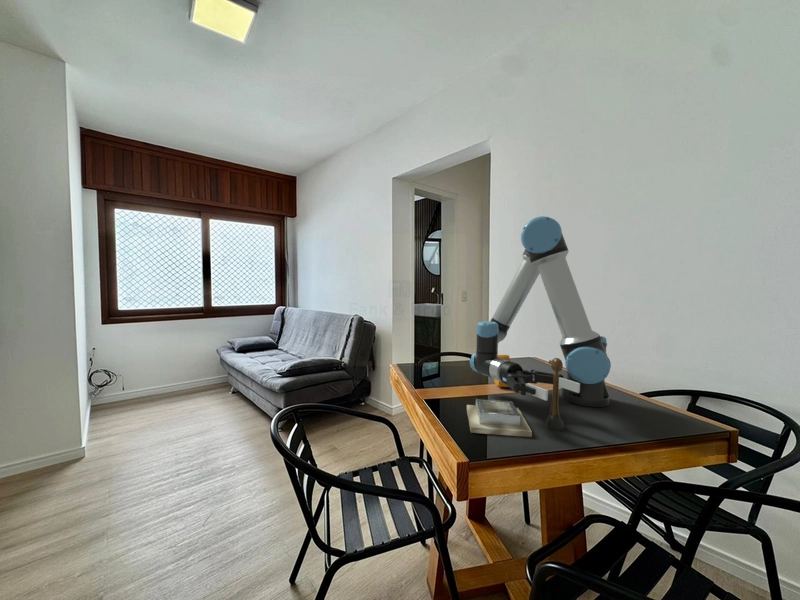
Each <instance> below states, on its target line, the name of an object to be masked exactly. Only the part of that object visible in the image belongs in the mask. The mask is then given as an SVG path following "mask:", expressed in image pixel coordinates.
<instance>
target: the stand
mask: <svg viewBox="0 0 800 600" xmlns="http://www.w3.org/2000/svg"><path fill="white" fill-rule="evenodd" d="M515 408H516V409H517V411H518V413H519V415H520V427H517V426H503V425H489V424H479V420H478V416H477V412H476V404H466V413H467V414H466V415H467V418H468V425H469V430H470V433H471V434H472V433H473V434H484V435H496V436H497V435H501V436H510V437H511V436H514V437H523V438H524V437H525V438H532V437H533V431H532V430H531V427H530V425H529V423H528V422H527V420H526V419H525V417H524V415H523V414H522V412H521V410H520V409H519V407H515ZM483 411H484V410H483ZM484 412H492V413H507V414H509V412H500V411H484Z"/></svg>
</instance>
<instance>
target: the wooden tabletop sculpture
mask: <svg viewBox="0 0 800 600" xmlns="http://www.w3.org/2000/svg"><path fill="white" fill-rule="evenodd" d="M549 364H550V366H551V369H552V370H553V372H554V373H553V374H554V376H553V384H552V397H551V405H550V411H549V413H548V416H547V418H546V419H545V423H544V426H545V427H546V428H547V429H549V430H552V431H559V432H560V431H563V430H564V421H563V419H562V418H561V415H560V408H559V388H560V387H559V376H560V375H559V373H561V371H562V370H563V367H564V365H563V362H562V360H561V359H560V358H559V357H554V358H552V360H551V359H550V360H549V361H548V365H549Z"/></svg>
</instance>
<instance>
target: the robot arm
mask: <svg viewBox="0 0 800 600" xmlns="http://www.w3.org/2000/svg"><path fill="white" fill-rule="evenodd" d="M561 227H562V226H561V225H560V224H559V222H558V221H557V220H555V218H551V217H549V216H537V217H534V218H532V219H530V220H529V221H528V222H526V224H524V226H523V227H522V231H521V235H520V241H521V245H522V246H523V248H524V251H523V252H522V255H521V256H522V258H523V259H522V261H521V263H520V265H519V266H518V268H517V271H516V272H515V274H514V276H513V278H512V280H511V282H510V284H509V285H508V288H507V290H506V291H505V293H504V295H503V297H502V299H500V303H499V304H498V306H497V308H496V310H495V312H494V314H493V316H492V318H491V319H490V321H489V320H487V321H486V320H485V321H483V320H482V321H478V322H477V325H476V331H475V332H476V350H475V352H473V354H472V355H471V357H470V359H469V366H470V368H471V369H472V371H474V372H476V373H478V374H479V375H483V376H484V377H485V376H486V377H489V378H491V379H493V380H494V379H496V380H498V381H499V382H503V383H505V384H507V385H508V386H509V387H508V388H509V389H511V391H513V392H514V393H516V394H518V393H519V394H520V396H521V395H522V396H525V395H526V394H527V395H530V396H533V397H536V398H538V399H540V400H543V401H548V398H549V390H548V389H545V388H542V387H540V386H537V385H535V384H548V385H553V376H554V374H555V373H550V372H545V371H539V370H536V369H535V370H534V369H531V370H530V371H529V370H525V369H523V367H522V366H521V365H520V364H519V363H517V362H513V361H511V360H510V361H508V360H505V359H501V358H498V357H497V355H499V353H498V352H499V351H498V349H499V343H500V342H502V341H504V340H505V338H506V337H507V335H508V331H509V330H510V328H511V325H512V323H513V322H514V320H515V319H516V316H517V314H518V313H519V311H520V309H521V307H522V306H523V304H524V303H525V300H526V298H527V297H528V295H529V293H530V292H531V290H532V288H533V286H534V285H535V282H537V279H538V277H539V275H540V278H541V281H542V283H543V286H544V289H545V291H546V294H547V297H548V300H549V303H550V305H551V308H552V311H553V314H554V317H555V319H556V320H555V321H556V322H557V325H558V329H559V331H560V334H561V336H562V337H561V339H560V340H559V347H560V349H561V351H562V355H563V357H564V360H565V362H564V364H565V369H566V376H565V378H564V375H562V374H561V373H560V374H559V373H558V375H560V376H559V388H560V394H559V396H560V397H561V398H562V399H563V400H565V401H566V402H569V403H572V404H575V405H578V406H584V407H591V408H592V407H593V408H603V407H607V406H609V405H610V398H611V397H610V394H609V391H608V387H607V383H606V381H605V380H606V378H607V377H608V376H609V374H610V372H611V366H612V363H611V360H610V358H609V356H608V353H607V347H608V343H607V338H606V337H605V336H602V335H600V333H598V332H596V331H594V330H593V329H592V327H591V325H590V321H589V319H588V315H587V313H586V311H585V308H584V304H583V302H582V299H581V296H580V294H579V291H578V288H577V285H576V283H575V280H574V278H573V275H572V272H571V270H570V266H569V264H568V261H567V256H568V254H569V248H568V245H567V243H566V241H565V237H564V235H563V234H564V233H563V232H562V228H561Z"/></svg>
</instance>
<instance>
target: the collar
mask: <svg viewBox="0 0 800 600" xmlns="http://www.w3.org/2000/svg"><path fill="white" fill-rule="evenodd" d="M475 405H476V412H477V416H478V420H479V424H489V425H503V426H517V427H520V415H519V413H518V411H517V409H516V408H517V407H516V406H515V404H514V402H513V401H512V400H500V399H498V400H496V399H481V398H479V399H478V398H476V399H475ZM483 410H484V411H500V412H509V414H507V413H492V412H484V411H483Z"/></svg>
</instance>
